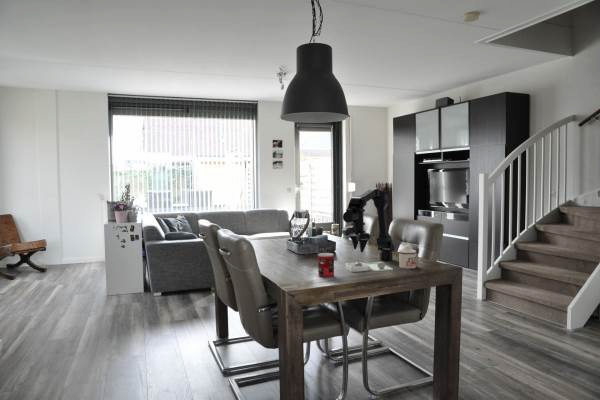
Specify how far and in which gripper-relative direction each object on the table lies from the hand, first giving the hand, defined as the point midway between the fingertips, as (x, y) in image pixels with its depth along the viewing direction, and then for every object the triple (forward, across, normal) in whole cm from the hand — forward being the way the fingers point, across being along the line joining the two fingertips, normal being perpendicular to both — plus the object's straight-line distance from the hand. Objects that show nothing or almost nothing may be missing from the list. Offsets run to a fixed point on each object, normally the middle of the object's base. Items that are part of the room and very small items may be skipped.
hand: (358, 250), depth 225 cm
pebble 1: (+10, 0, 0) cm, 10 cm away
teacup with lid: (+11, +1, +29) cm, 31 cm away
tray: (+11, -3, +12) cm, 16 cm away
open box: (+11, -2, 0) cm, 11 cm away
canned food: (+11, +4, -19) cm, 22 cm away
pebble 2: (+10, +2, +12) cm, 16 cm away
